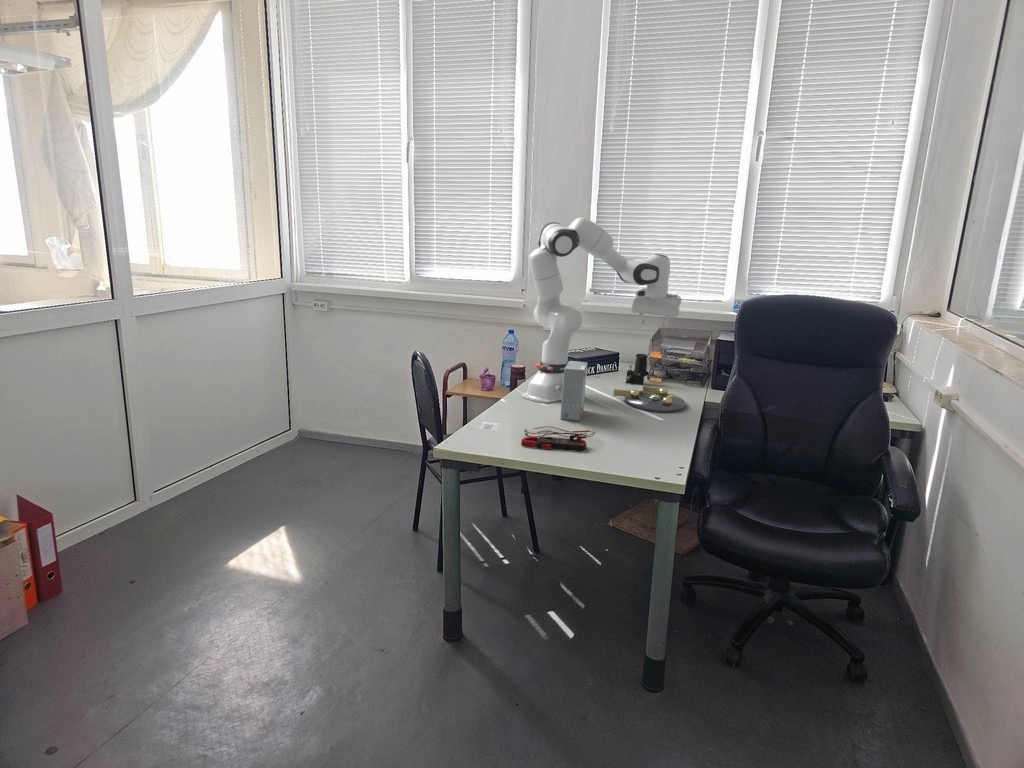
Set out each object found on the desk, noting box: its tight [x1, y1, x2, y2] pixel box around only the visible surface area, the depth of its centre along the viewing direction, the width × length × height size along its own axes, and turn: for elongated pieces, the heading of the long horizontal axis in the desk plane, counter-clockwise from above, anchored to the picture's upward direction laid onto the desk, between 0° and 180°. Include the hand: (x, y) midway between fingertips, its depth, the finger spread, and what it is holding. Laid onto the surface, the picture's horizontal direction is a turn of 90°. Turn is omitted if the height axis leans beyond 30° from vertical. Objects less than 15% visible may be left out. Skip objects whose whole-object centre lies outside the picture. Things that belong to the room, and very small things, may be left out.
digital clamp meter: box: [520, 426, 596, 452], centre depth 219 cm, size 23×4×25 cm
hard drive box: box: [559, 360, 588, 422], centre depth 245 cm, size 16×8×20 cm, turn 168°
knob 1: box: [612, 388, 640, 398], centre depth 268 cm, size 11×4×3 cm, turn 83°
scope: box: [625, 353, 650, 386], centre depth 298 cm, size 8×14×10 cm
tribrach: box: [624, 390, 686, 414], centre depth 267 cm, size 25×25×4 cm
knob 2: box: [663, 392, 675, 406], centre depth 262 cm, size 11×4×3 cm, turn 153°
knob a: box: [642, 385, 669, 396], centre depth 274 cm, size 11×4×3 cm, turn 68°
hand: (653, 325), depth 273 cm, fingers open, 8 cm apart
